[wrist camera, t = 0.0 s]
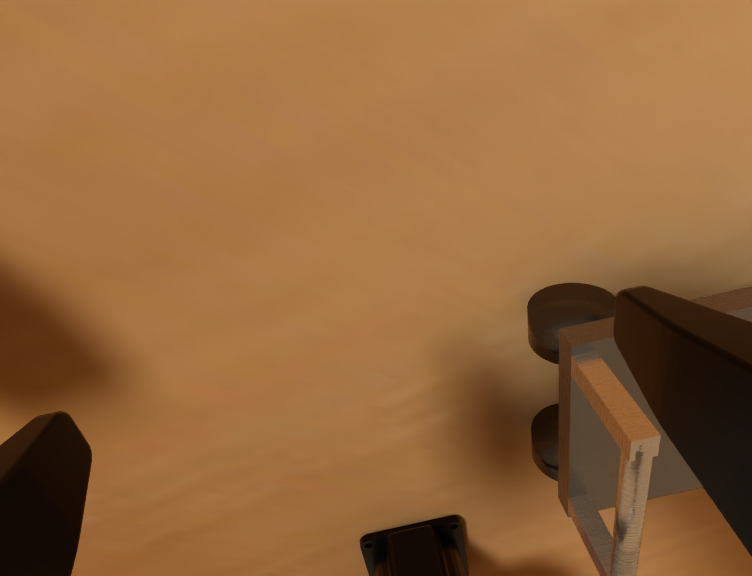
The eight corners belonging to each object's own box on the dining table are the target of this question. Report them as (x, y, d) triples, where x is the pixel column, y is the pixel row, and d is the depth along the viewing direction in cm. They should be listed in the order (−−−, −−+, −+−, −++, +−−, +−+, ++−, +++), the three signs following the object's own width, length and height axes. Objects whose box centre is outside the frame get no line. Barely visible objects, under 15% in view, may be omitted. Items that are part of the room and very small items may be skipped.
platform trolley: (803, 379, 32) (984, 529, 24) (521, 441, 32) (603, 615, 23) (858, 209, 26) (1124, 325, 18) (514, 282, 26) (619, 437, 18)
